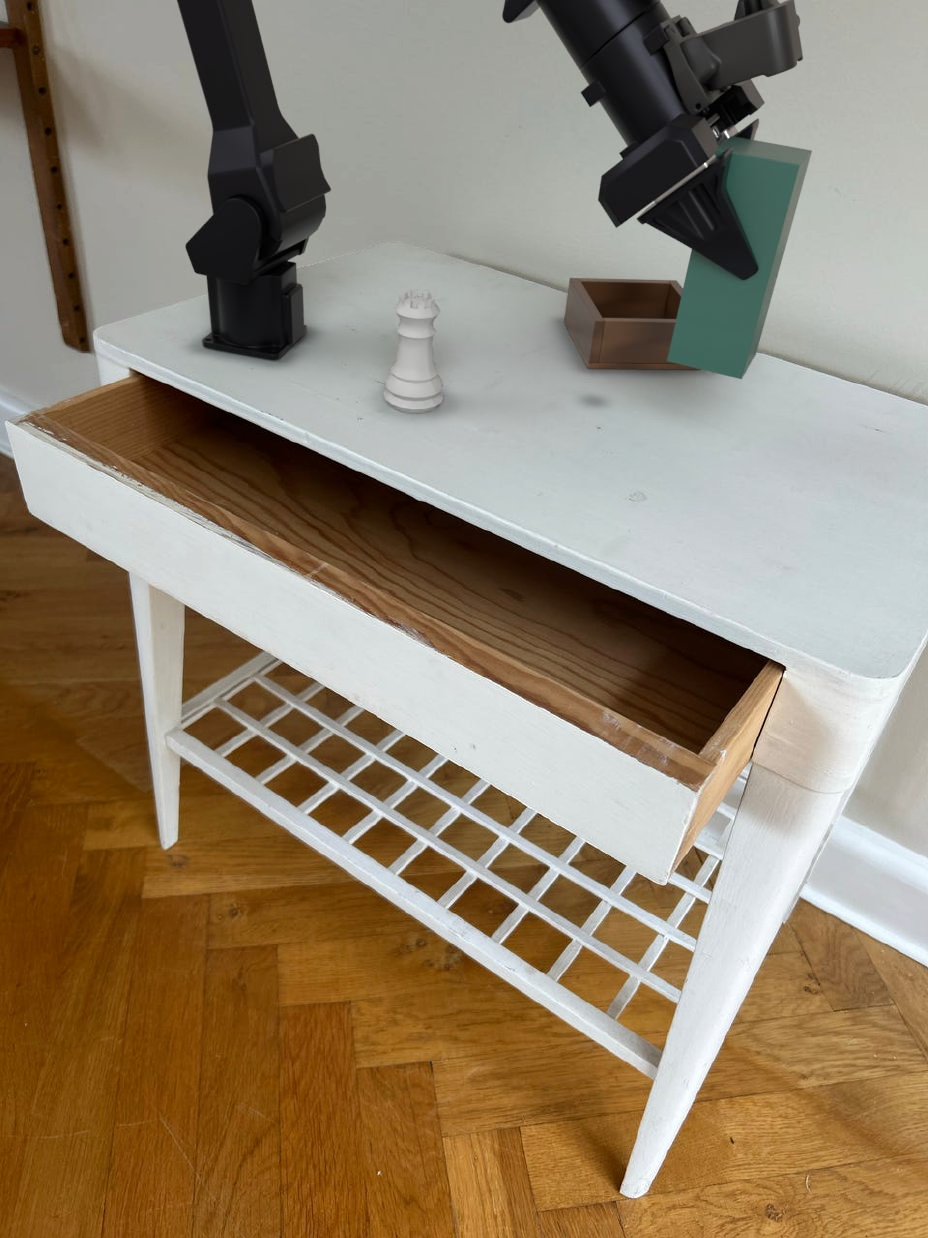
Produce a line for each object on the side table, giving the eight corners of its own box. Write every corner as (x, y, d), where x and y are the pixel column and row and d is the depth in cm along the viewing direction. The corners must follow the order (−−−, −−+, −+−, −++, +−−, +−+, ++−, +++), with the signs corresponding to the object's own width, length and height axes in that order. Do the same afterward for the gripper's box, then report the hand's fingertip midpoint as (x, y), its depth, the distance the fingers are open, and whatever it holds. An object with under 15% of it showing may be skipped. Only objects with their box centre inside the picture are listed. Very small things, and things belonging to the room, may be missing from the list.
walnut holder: (587, 368, 82) (595, 320, 79) (563, 322, 89) (569, 277, 87) (700, 369, 83) (711, 323, 81) (667, 324, 91) (676, 279, 88)
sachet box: (666, 361, 66) (713, 148, 59) (684, 337, 70) (731, 135, 62) (741, 379, 65) (799, 164, 57) (755, 354, 69) (812, 150, 61)
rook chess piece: (455, 403, 75) (462, 298, 70) (413, 421, 72) (417, 313, 68) (413, 383, 77) (417, 279, 72) (370, 399, 75) (372, 293, 70)
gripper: (703, -59, 47) (867, 226, 51) (768, -75, 61) (894, 151, 65) (527, 99, 54) (684, 339, 58) (621, 53, 68) (743, 250, 72)
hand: (759, 263), depth 63 cm, fingers closed on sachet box, 5 cm apart
